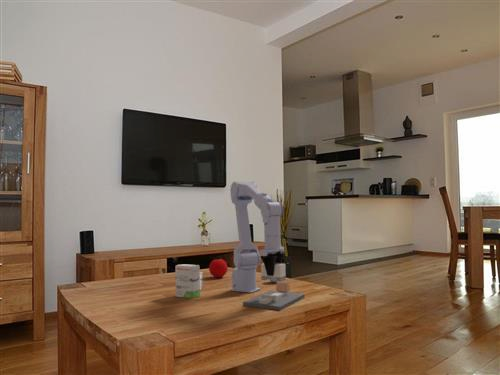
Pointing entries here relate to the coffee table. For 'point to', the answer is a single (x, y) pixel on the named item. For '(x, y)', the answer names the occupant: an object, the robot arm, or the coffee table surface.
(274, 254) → the robot arm
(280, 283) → the rail clip
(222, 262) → the ornament
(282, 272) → the block
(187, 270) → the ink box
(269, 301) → the rail board
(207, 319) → the coffee table surface
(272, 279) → the grey sculpted head
